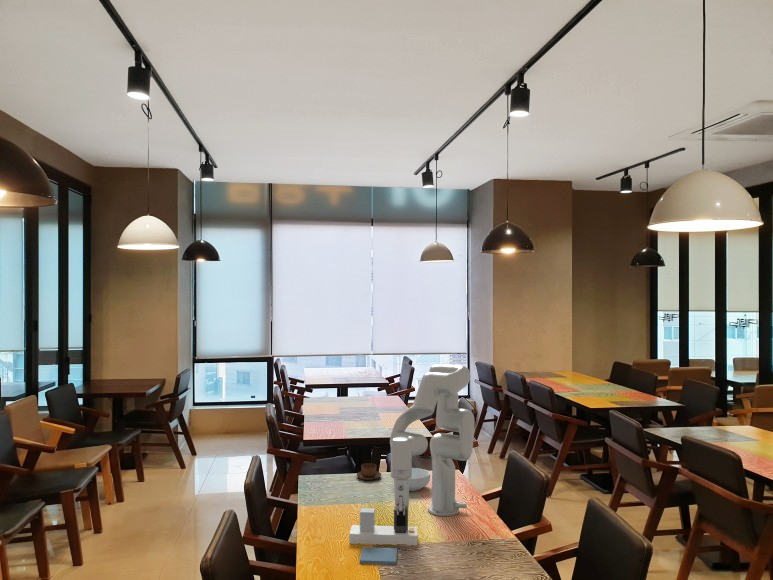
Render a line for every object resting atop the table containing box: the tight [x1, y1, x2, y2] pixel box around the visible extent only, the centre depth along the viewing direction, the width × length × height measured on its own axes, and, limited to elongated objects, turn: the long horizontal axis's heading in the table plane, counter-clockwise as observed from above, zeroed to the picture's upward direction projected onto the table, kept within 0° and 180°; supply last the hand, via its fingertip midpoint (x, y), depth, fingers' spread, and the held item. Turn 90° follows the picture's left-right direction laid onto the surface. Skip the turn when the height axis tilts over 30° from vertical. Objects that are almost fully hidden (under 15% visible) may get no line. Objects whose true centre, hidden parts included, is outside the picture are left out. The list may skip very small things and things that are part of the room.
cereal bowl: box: [409, 467, 431, 492], centre depth 268 cm, size 17×17×7 cm
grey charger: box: [359, 507, 376, 532], centre depth 211 cm, size 5×4×8 cm
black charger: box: [393, 505, 409, 533], centre depth 210 cm, size 5×4×8 cm
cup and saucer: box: [356, 462, 382, 481], centre depth 282 cm, size 12×12×6 cm
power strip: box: [349, 524, 418, 546], centre depth 210 cm, size 24×8×4 cm, turn 87°
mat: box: [359, 546, 398, 565], centre depth 196 cm, size 12×10×1 cm
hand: (401, 522), depth 210 cm, fingers closed on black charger, 4 cm apart
